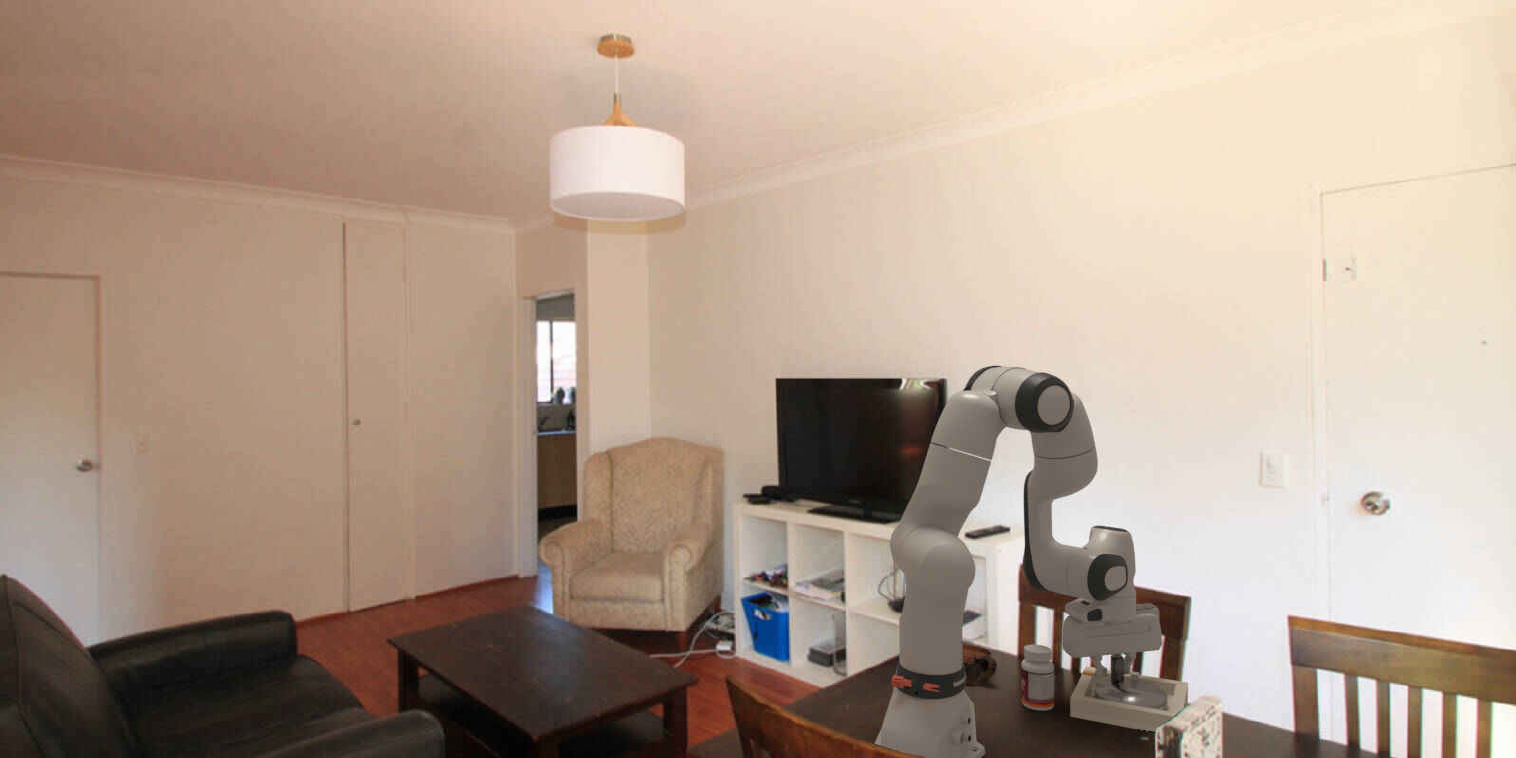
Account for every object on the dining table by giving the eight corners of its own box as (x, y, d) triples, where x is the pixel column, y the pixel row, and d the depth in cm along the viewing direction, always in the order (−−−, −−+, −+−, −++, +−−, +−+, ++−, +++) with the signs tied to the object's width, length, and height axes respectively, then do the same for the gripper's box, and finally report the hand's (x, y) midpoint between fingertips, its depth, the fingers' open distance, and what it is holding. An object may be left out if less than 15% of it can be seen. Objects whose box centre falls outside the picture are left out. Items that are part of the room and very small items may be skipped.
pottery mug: (938, 680, 177) (944, 642, 181) (969, 692, 181) (974, 654, 185) (980, 682, 168) (985, 642, 171) (1012, 695, 171) (1016, 655, 175)
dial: (1182, 712, 154) (1182, 675, 154) (1117, 716, 153) (1117, 679, 153) (1141, 686, 167) (1141, 651, 167) (1081, 689, 166) (1081, 655, 166)
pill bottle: (1021, 697, 166) (1021, 642, 166) (1054, 701, 164) (1053, 644, 164) (1021, 709, 160) (1020, 652, 160) (1054, 713, 158) (1054, 655, 158)
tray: (1182, 737, 147) (1181, 715, 147) (1070, 716, 157) (1070, 695, 157) (1187, 700, 164) (1187, 680, 163) (1086, 683, 173) (1086, 663, 173)
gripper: (1148, 598, 169) (1149, 664, 170) (1057, 605, 166) (1058, 673, 166) (1168, 606, 163) (1169, 675, 163) (1074, 614, 160) (1076, 685, 160)
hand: (1113, 674), depth 165 cm, fingers open, 4 cm apart
